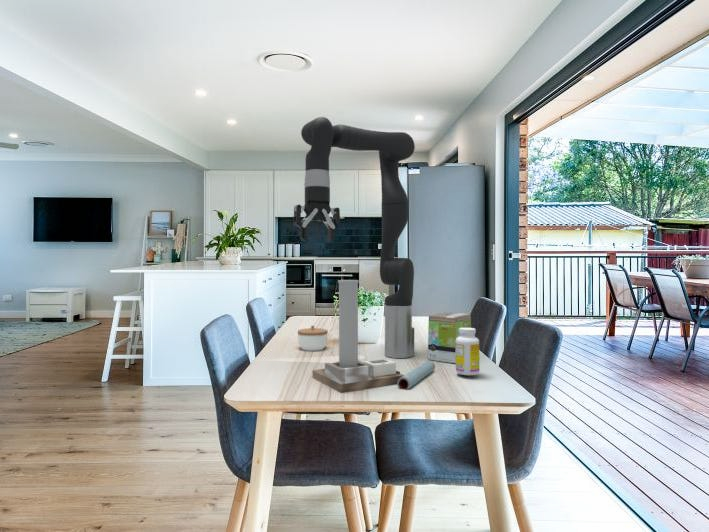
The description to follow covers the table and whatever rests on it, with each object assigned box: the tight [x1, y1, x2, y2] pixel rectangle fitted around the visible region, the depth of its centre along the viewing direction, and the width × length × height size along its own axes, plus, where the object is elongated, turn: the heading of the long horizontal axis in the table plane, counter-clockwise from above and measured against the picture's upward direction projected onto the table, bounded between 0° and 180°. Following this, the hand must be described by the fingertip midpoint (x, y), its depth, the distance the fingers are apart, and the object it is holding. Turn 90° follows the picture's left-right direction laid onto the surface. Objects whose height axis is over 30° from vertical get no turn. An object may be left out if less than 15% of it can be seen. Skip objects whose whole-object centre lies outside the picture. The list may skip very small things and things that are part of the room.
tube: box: [337, 279, 360, 368], centre depth 114 cm, size 5×5×25 cm
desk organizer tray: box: [312, 360, 405, 393], centre depth 120 cm, size 19×17×6 cm
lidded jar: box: [297, 325, 328, 352], centre depth 160 cm, size 11×11×9 cm
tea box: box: [427, 312, 472, 364], centre depth 150 cm, size 15×10×15 cm, turn 148°
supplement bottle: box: [455, 327, 480, 376], centre depth 128 cm, size 7×7×13 cm
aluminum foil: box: [396, 360, 436, 391], centre depth 122 cm, size 23×7×3 cm, turn 154°
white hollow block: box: [363, 358, 397, 377], centre depth 119 cm, size 7×5×3 cm
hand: (317, 241), depth 133 cm, fingers open, 8 cm apart
